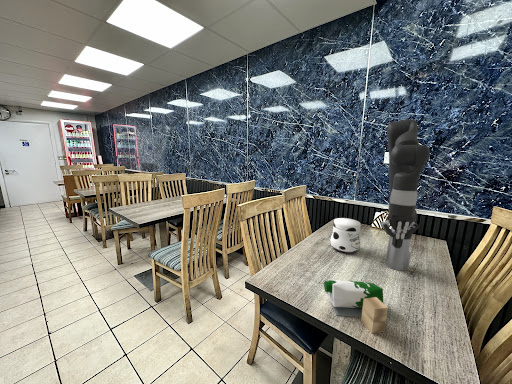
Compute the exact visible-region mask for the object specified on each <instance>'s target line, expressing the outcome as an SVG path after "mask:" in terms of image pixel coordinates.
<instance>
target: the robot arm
mask: <svg viewBox="0 0 512 384" xmlns="http://www.w3.org/2000/svg"><path fill="white" fill-rule="evenodd" d="M418 128H419V126H418V123H417V120H416V119H413V118H412V119H411V118H410V119H409V118H408V119H403V120H398V121H393V122H389V123H388V125H387V129H386V134H387V136H386V137H387V149H388V181H389V182H388V183H389V199H388V212H387V213H388V214H387V215H388V217H387V219H386V220H385V221H381V222H380V223H379V224H380V226H381V227H382V228H383V230H384V232H385V233H386V234H387V235H388V242H387V249H386V255H385V256H386V257H385V266H387V268H390V269H392V270H394V271H399V272H400V271H401V272H404V271H408V270H409V267H410V260H411V255H412V254H411V253H412V252H411V251H410V247H411V242H412V236H413V234H414V233H415V232H416V231H418V229H419V228H420V226H421V225H419V224H418V223H416V221H417V215H418V214H417V210H416V206H417V200H418V186H419V179H420V176H421V174H422V171H423V169H424V167H425V166H426V164H427V162H428V160H429V157H430V155H431V151H430V148H429V147H428V146H427V145H426V144H420V143H419V141H418V136H419V135H418V133H419V131H418V130H419V129H418ZM390 227H391V228H390Z"/></svg>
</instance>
